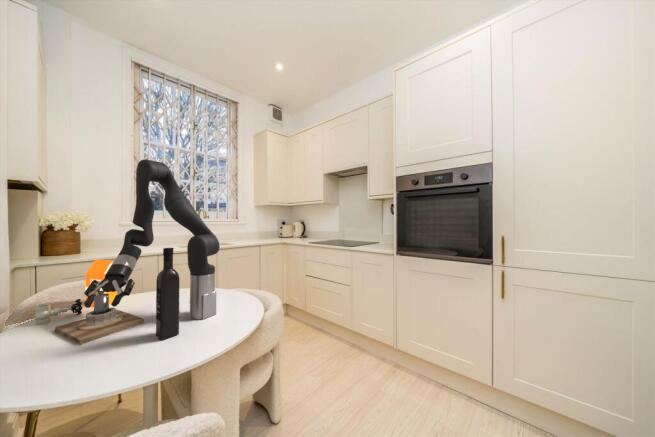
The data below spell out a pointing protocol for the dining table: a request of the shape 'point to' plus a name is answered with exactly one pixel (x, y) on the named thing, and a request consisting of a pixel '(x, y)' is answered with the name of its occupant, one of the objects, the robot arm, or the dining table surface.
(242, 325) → the dining table surface
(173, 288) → the wine bottle
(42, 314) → the valve
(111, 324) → the socket fitting
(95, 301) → the grey metal cylinder
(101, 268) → the orange juice
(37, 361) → the dining table surface
